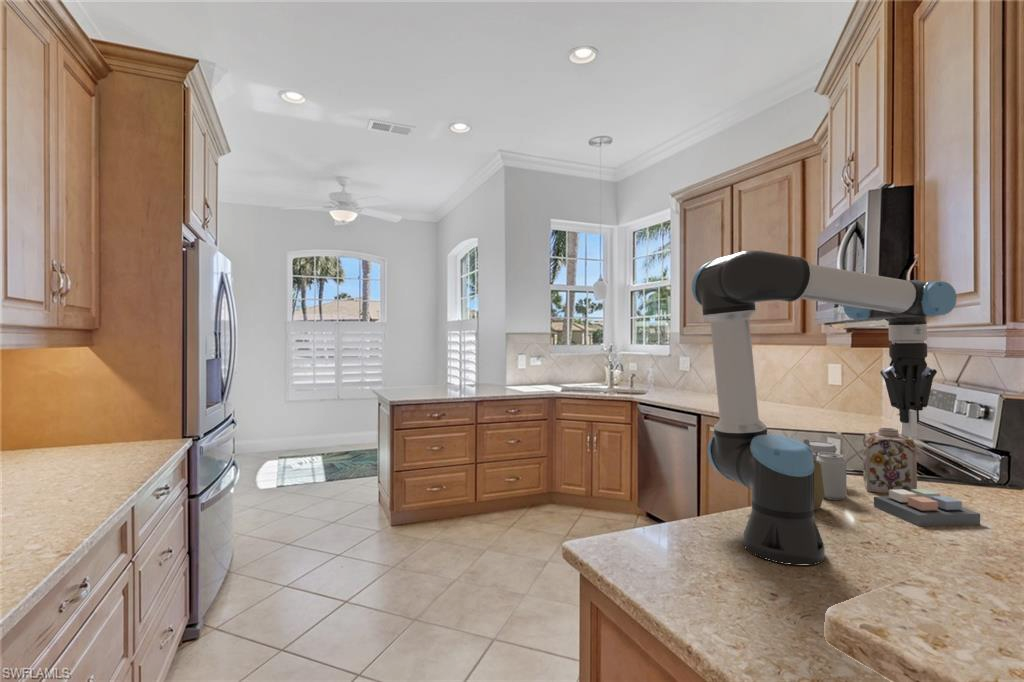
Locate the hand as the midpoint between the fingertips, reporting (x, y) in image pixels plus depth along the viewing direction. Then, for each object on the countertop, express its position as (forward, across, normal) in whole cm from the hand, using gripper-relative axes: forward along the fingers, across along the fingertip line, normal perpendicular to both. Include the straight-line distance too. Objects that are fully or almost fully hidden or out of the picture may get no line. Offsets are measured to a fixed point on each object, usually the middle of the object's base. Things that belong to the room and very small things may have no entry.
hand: (909, 435), depth 124 cm
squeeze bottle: (+20, -22, +8) cm, 31 cm away
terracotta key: (+18, 0, -3) cm, 19 cm away
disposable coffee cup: (+20, -4, +30) cm, 36 cm away
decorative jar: (+21, +11, +21) cm, 31 cm away
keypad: (+20, +3, 0) cm, 20 cm away
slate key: (+18, +6, -3) cm, 20 cm away
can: (+20, -10, +16) cm, 27 cm away
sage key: (+18, +6, +3) cm, 19 cm away
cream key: (+18, 0, +3) cm, 18 cm away
